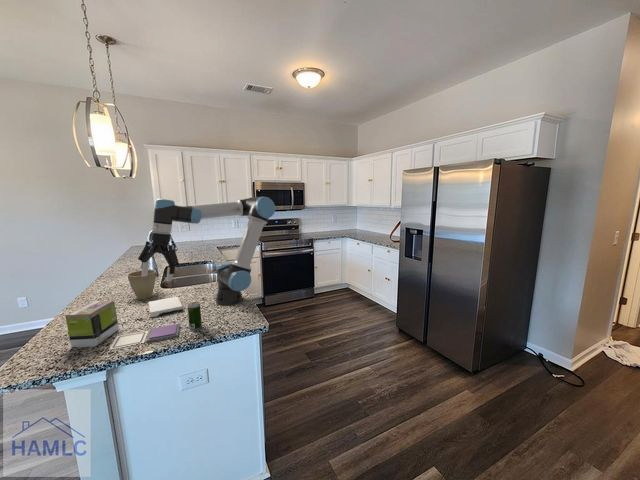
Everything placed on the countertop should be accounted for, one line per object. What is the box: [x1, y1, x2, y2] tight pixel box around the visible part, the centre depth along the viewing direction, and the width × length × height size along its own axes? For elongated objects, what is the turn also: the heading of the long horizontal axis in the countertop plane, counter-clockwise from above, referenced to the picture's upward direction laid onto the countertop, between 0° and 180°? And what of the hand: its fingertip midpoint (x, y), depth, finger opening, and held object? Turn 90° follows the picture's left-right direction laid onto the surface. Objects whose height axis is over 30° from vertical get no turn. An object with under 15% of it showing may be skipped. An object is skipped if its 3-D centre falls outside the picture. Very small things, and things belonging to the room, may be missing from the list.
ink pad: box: [145, 323, 181, 344], centre depth 122 cm, size 12×12×2 cm
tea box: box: [65, 300, 120, 348], centre depth 118 cm, size 15×10×15 cm
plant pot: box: [126, 269, 157, 300], centre depth 168 cm, size 15×15×16 cm
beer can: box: [187, 301, 203, 331], centre depth 126 cm, size 5×5×12 cm
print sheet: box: [108, 330, 149, 351], centre depth 117 cm, size 12×12×1 cm
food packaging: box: [147, 296, 184, 318], centre depth 151 cm, size 15×3×20 cm
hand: (156, 278), depth 124 cm, fingers open, 13 cm apart
